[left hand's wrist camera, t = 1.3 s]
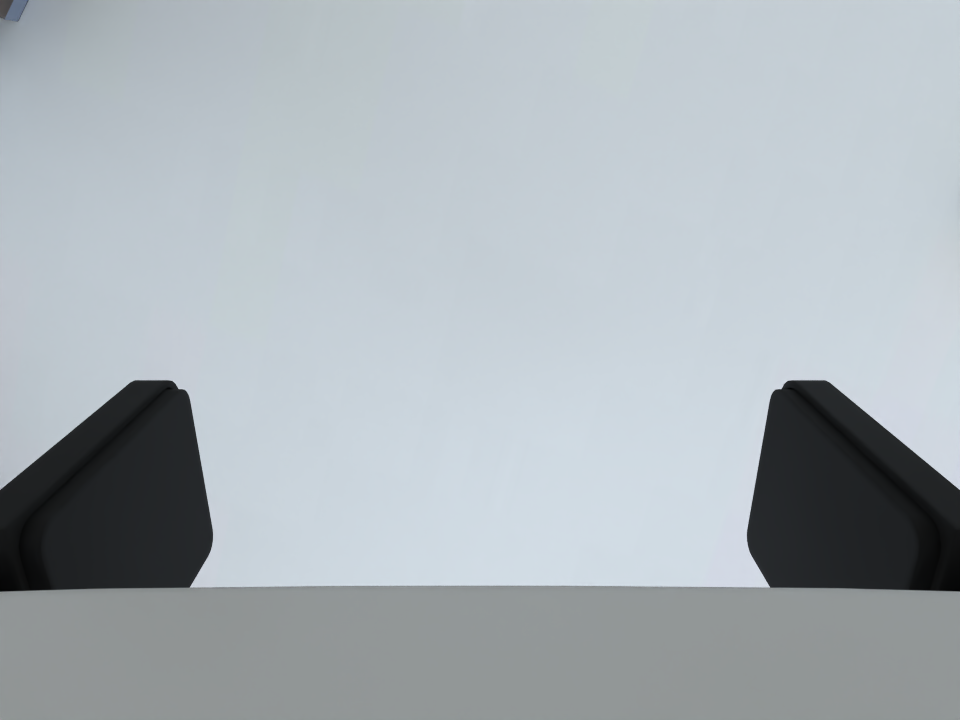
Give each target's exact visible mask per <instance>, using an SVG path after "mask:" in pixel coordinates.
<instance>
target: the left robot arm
mask: <svg viewBox="0 0 960 720" xmlns="http://www.w3.org/2000/svg"><path fill="white" fill-rule="evenodd" d="M212 542H213V529H212V524H211V518H210V512H209V506H208V501H207V495H206V489H205V483H204V478H203V472H202V466H201V460H200V455H199V449H198V443H197V438H196V432H195V426H194V420H193V415H192V409H191V403H190V399H189V395H188V393H187V392H186V391H185V390H182V389H178V388H177V386H176V384H175V383H174V382H173V381H168V380H135V381H133V382H131V383H129V384H128V385H127V386H126V387H125V388H123V389H122V390H121V391H120V392H119V393H117V394H116V395H115V396H114V397H112V398H111V399H110V400H109V401H108V402H106V403H105V404H104V405H103V406H102V407H100V408H99V409H98V410H97V411H95V412H94V413H93V414H92V415H91V416H89V417H88V418H87V419H86V420H85V421H83V422H82V423H81V424H80V425H79V426H77V427H76V428H75V429H74V430H72V431H71V432H70V433H69V434H68V435H66V436H65V437H64V438H63V439H62V440H60V441H59V442H58V443H57V444H56V445H54V446H53V447H52V448H51V449H49V450H48V451H47V452H46V453H45V454H43V455H42V456H41V457H40V458H39V459H37V460H36V461H35V462H34V463H32V464H31V465H30V466H29V467H28V468H26V469H25V470H24V471H23V472H22V473H20V474H19V475H18V476H17V477H16V478H14V479H13V480H12V481H11V482H9V483H8V484H7V485H6V486H5V487H3V488H2V489H1V490H0V720H960V490H959V489H958V488H957V487H955V486H954V485H953V484H952V483H951V482H949V481H948V480H947V479H946V478H944V477H943V476H942V475H941V474H940V473H938V472H937V471H936V470H935V469H934V468H932V467H931V466H930V465H929V464H928V463H926V462H925V461H924V460H923V459H921V458H920V457H919V456H918V455H917V454H915V453H914V452H913V451H912V450H911V449H909V448H908V447H907V446H906V445H904V444H903V443H902V442H901V441H900V440H898V439H897V438H896V437H895V436H894V435H892V434H891V433H890V432H889V431H888V430H886V429H885V428H884V427H883V426H881V425H880V424H879V423H878V422H877V421H875V420H874V419H873V418H872V417H871V416H869V415H868V414H867V413H866V412H865V411H863V410H862V409H861V408H860V407H858V406H857V405H856V404H855V403H854V402H852V401H851V400H850V399H849V398H848V397H846V396H845V395H844V394H843V393H841V392H840V391H839V390H838V389H837V388H835V387H834V386H833V385H832V384H831V383H829V382H827V381H825V380H792V381H787V382H786V383H785V384H784V386H783V388H782V389H778V390H775V391H774V392H773V393H772V395H771V399H770V403H769V409H768V415H767V420H766V426H765V432H764V438H763V443H762V449H761V455H760V460H759V466H758V472H757V478H756V483H755V489H754V495H753V501H752V506H751V512H750V518H749V524H748V529H747V542H748V547H749V551H750V553H751V555H752V557H753V559H754V561H755V562H756V564H757V566H758V567H759V569H760V571H761V572H762V574H763V576H764V577H765V579H766V581H767V583H768V584H769V586H770V588H748V587H631V586H306V587H213V588H190V586H191V584H192V583H193V581H194V579H195V577H196V576H197V574H198V572H199V571H200V569H201V567H202V566H203V564H204V562H205V561H206V559H207V557H208V555H209V553H210V551H211V547H212Z"/></svg>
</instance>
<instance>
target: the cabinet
mask: <svg viewBox="0 0 960 720" xmlns="http://www.w3.org/2000/svg"><path fill="white" fill-rule="evenodd" d="M27 1H28V0H0V18H4V19H6V20H12V21H18V20H19V18H20V16H21V14H22V12H23V10H24V8H25V6H26V4H27Z"/></svg>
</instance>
